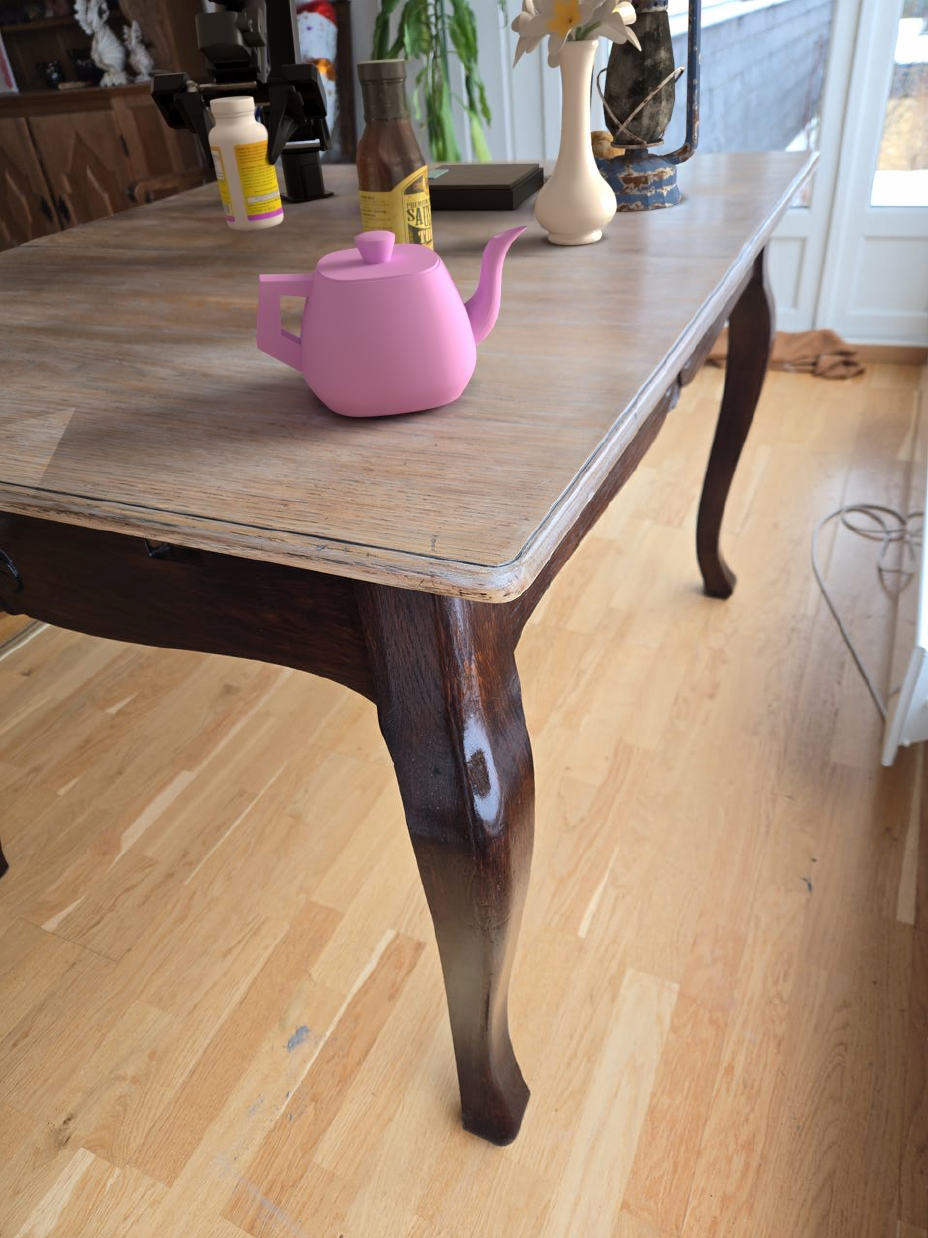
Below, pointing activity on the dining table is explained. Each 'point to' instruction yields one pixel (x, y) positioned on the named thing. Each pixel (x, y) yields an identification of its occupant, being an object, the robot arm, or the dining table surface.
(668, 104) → the lantern
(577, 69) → the flower vase
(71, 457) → the dining table surface
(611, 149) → the bread roll
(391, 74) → the sauce bottle
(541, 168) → the kitchen scale
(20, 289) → the dining table surface
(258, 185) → the supplement bottle
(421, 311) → the teapot
